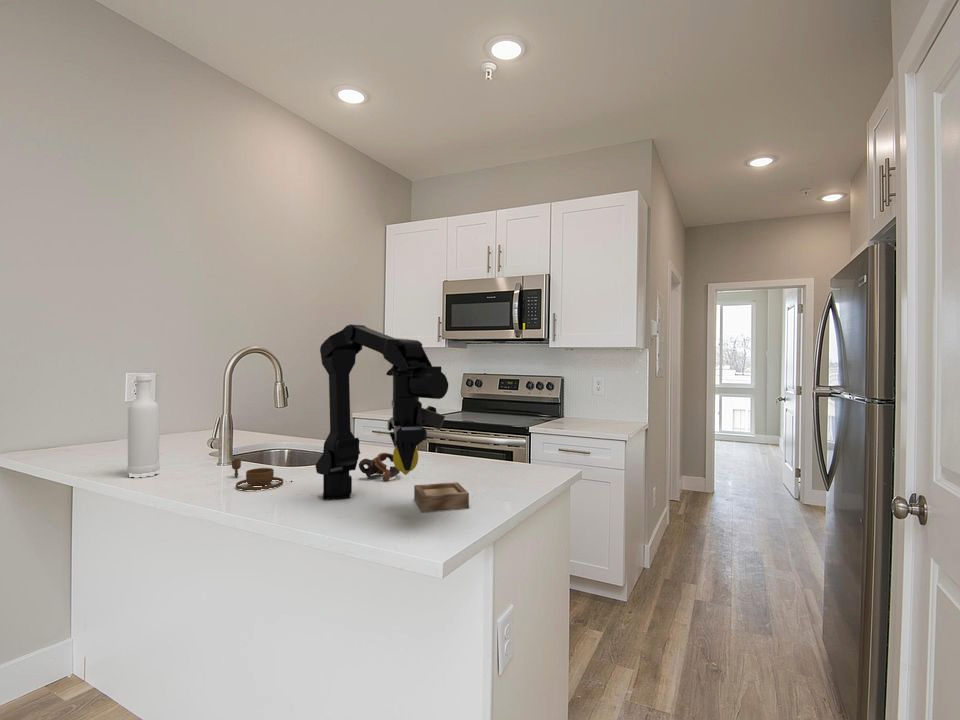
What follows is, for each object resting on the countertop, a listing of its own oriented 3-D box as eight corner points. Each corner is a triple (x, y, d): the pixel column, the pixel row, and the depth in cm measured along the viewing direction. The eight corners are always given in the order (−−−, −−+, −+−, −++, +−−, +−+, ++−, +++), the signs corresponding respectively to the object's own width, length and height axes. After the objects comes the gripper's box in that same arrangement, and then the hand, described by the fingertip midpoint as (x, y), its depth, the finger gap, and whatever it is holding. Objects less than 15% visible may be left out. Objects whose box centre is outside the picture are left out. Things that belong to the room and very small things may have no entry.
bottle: (122, 479, 145) (122, 375, 145) (134, 473, 153) (134, 374, 153) (153, 477, 147) (153, 375, 147) (163, 471, 155) (163, 374, 155)
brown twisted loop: (391, 474, 154) (400, 452, 152) (395, 495, 146) (406, 472, 144) (352, 468, 149) (362, 445, 146) (355, 489, 141) (365, 465, 138)
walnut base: (422, 512, 114) (422, 496, 114) (414, 499, 124) (414, 485, 124) (468, 508, 117) (468, 493, 117) (457, 495, 128) (457, 482, 128)
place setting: (220, 496, 129) (220, 473, 129) (229, 479, 148) (229, 459, 148) (293, 490, 135) (293, 468, 135) (292, 474, 154) (292, 455, 154)
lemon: (394, 472, 113) (394, 436, 113) (418, 471, 114) (418, 436, 114) (391, 477, 108) (391, 440, 108) (417, 477, 108) (417, 440, 108)
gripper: (451, 399, 104) (450, 474, 104) (433, 393, 122) (433, 457, 122) (396, 400, 101) (396, 478, 101) (387, 393, 119) (387, 459, 119)
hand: (405, 467), depth 111 cm, fingers closed on lemon, 5 cm apart
